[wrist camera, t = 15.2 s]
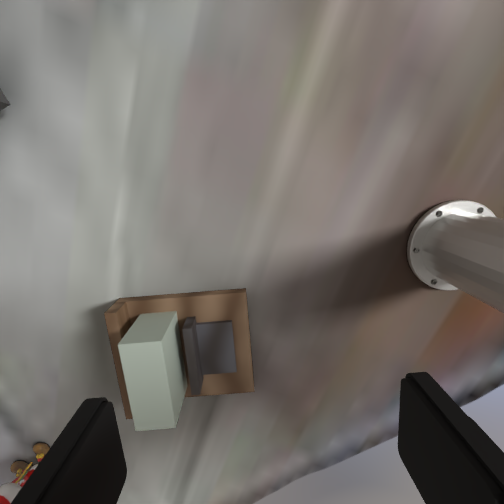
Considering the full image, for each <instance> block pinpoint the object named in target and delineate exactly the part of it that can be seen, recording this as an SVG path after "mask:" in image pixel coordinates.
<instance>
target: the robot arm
mask: <svg viewBox="0 0 504 504" xmlns="http://www.w3.org/2000/svg"><path fill="white" fill-rule="evenodd" d="M413 249H414V250H413ZM407 258H408V262H409V265H410V268H411V269H412V271H413V273H414V274H415V275H416V276H417V277H418V279H419V280H421V281H422V282H424V283H425V284H427V285H429V286H430V287H433V288H436V289H439V290H458V289H460V290H462V291H464V292H466V293H467V294H469V295H471V296H473V297H475V298H477V299H479V300H480V301H482V302H484V303H486V304H488V305H490V306H491V307H493V308H495V309H497V310H499V311H501V312H503V313H504V219H502V218H497V217H496V216H495V215H494V213H493V212H492V211H491V210H490V209H488V208H487V207H486V206H484V205H482V204H480V203H478V202H473V201H469V200H451V201H448V202H444V203H441V204H439V205H437V206H435V207H433V208H432V209H430V210H429V211H427V212H426V213H425V214H424V215H423V216H422V217H421V218H420V219H419V220H418V222H417V223H416V225H415V226H414V228H413V230H412V232H411V234H410V237H409V240H408V245H407ZM398 451H399V455H400V457H401V459H402V461H403V463H404V465H405V467H406V468H407V471H408V472H409V474H410V476H411V478H412V479H413V481H414V483H415V485H416V487H417V489H418V490H419V492H420V494H421V496H422V498H423V500H424V502H425V503H426V504H504V453H503V452H502V450H501V449H500V448H499V447H498V446H497V445H496V444H495V443H494V442H493V441H492V440H491V438H489V436H488V435H487V434H486V433H485V432H484V431H483V430H482V429H481V428H480V427H479V426H478V425H477V423H476V422H475V421H474V420H472V419H471V418H470V417H468V416H467V415H466V414H465V413H464V412H463V410H462V409H461V408H460V407H459V406H458V405H457V404H456V403H455V402H454V401H453V400H452V398H451V397H450V396H449V395H448V394H447V393H446V392H445V391H444V390H443V389H442V388H441V387H440V385H439V384H438V383H437V382H436V381H435V380H434V379H433V378H432V377H431V376H430V375H429V374H428V373H427V372H417V373H408V374H407V375H406V378H403V379H402V380H401V390H400V411H399V431H398ZM126 474H127V467H126V462H125V458H124V453H123V449H122V444H121V439H120V435H119V430H118V426H117V421H116V417H115V412H114V407H113V404H112V402H108V400H107V399H106V398H104V397H103V398H90V399H86V400H85V401H84V402H83V403H82V404H81V406H80V407H79V408H78V410H77V411H76V413H75V414H74V415H73V417H72V418H71V420H70V421H69V423H68V424H67V425H66V427H65V428H64V430H63V431H62V432H61V434H60V435H59V437H58V438H57V439H56V441H55V442H54V444H53V445H52V446H51V448H50V449H49V451H48V452H47V453H46V455H45V456H44V457H43V459H42V460H41V461H40V463H39V464H38V466H37V467H36V468H35V470H34V471H33V473H32V474H31V475H30V477H29V478H28V480H27V481H26V482H25V484H24V485H23V487H22V488H21V489H20V491H19V492H18V494H17V495H16V497H15V498H14V499H13V501H12V502H11V504H116V503H117V501H118V498H119V496H120V493H121V491H122V488H123V485H124V483H125V480H126Z"/></svg>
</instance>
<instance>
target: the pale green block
mask: <svg viewBox="0 0 504 504" xmlns="http://www.w3.org/2000/svg"><path fill="white" fill-rule="evenodd" d="M118 349H119V354H120V358H121V363H122V368H123V373H124V378H125V383H126V387H127V392H128V397H129V402H130V407H131V412H132V417H133V421H134V426H135V431H146V430H158V429H170V428H176V426H177V422H178V419H179V415H180V411H181V407H182V404H183V400H184V396H185V393H186V389H187V379H186V372H185V365H184V359H183V352H182V345H181V339H180V332H179V325H178V319H177V312H176V311H171V312H159V313H146V314H140V315H139V317H138V318H137V319H136V321H135V322H134V323H133V325H132V326H131V327H130V329H129V330H128V331H127V333H126V334H125V335H124V337H123V338H122V340H121V341H120V342H119V344H118Z"/></svg>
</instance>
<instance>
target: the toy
mask: <svg viewBox="0 0 504 504" xmlns="http://www.w3.org/2000/svg"><path fill="white" fill-rule="evenodd" d="M9 105H10V103H9V101H8V100H7V98H6V97H5V95H4V94H3V92H2V90H1V89H0V110H2V109H4V108H5V107H7V106H9Z"/></svg>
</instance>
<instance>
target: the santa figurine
mask: <svg viewBox="0 0 504 504" xmlns="http://www.w3.org/2000/svg"><path fill="white" fill-rule="evenodd" d="M49 449H50V447H49V445H48V444H46V443H37V444H35V445H34V447H33V451H34V452H35V453H36V454H37V456H36V458H37V460H38V462H40V461H41V460H42V459H43V457H44V456H45V455H46V453H47V452H48V451H49ZM32 463H33V462H30V464H29V463H27V462H25V461H15V462H14V463H13V464H12V465H11V468H10V469H11V472H13V473H17V474H16V477H17V478H16V479H15V480H14V481H12V482H11V483H5V484H3V485H1V486H0V504H11V502H12V501H13V499H14V498H15V497H16V495H17V494H18V492H19V491H20V489H21V488H22V487H23V485H24V484H25V482H26V481H27V480H28V478H29V477H30V475H31V474H32V473H33V471H34V470H35V468H36V467H37V466H38V464H36V465H34V466H33V465H31V464H32Z"/></svg>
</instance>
